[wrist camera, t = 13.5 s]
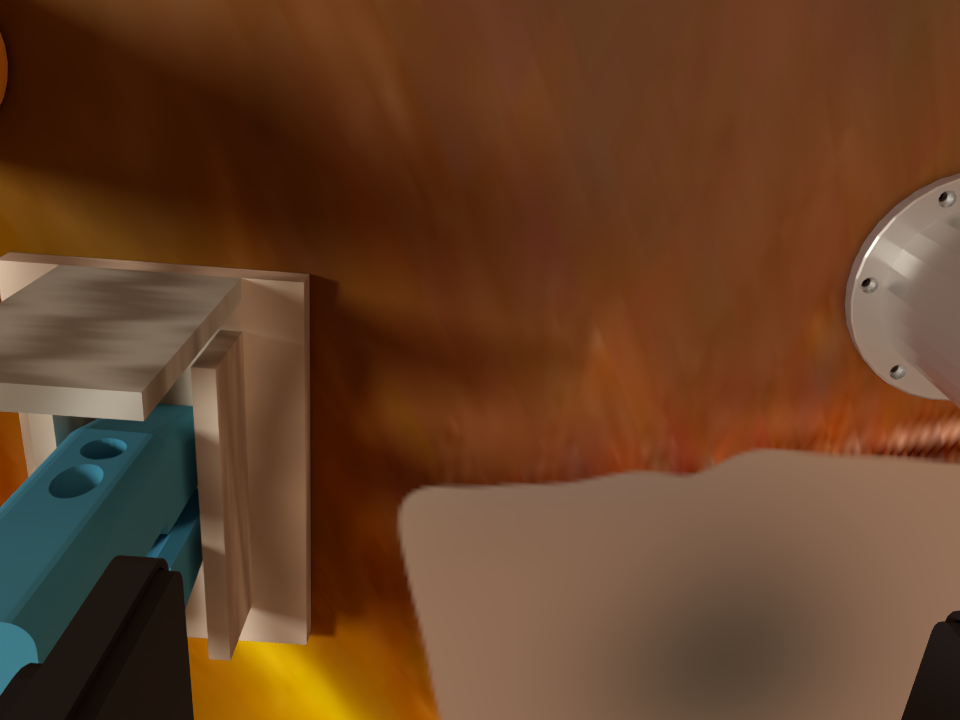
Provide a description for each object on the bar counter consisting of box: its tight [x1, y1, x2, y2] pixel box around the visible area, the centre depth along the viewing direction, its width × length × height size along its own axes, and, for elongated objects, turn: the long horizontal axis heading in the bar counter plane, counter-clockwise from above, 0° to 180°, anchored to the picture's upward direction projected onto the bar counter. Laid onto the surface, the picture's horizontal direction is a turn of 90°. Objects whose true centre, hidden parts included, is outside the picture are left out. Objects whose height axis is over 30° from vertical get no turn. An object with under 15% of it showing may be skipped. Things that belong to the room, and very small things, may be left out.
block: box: [0, 403, 203, 695], centre depth 41 cm, size 12×5×20 cm, turn 175°
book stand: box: [0, 252, 311, 660], centre depth 44 cm, size 16×24×16 cm, turn 176°
